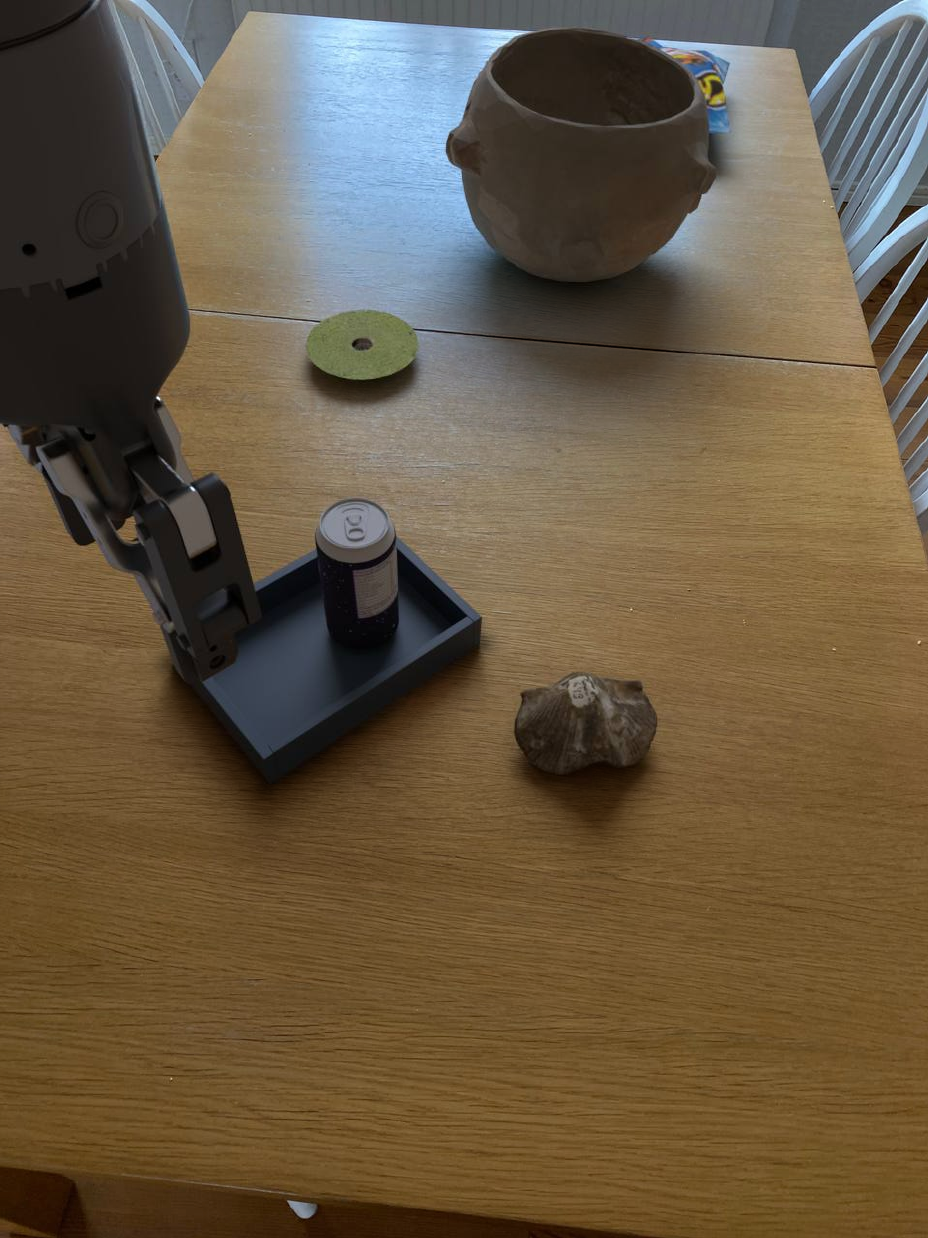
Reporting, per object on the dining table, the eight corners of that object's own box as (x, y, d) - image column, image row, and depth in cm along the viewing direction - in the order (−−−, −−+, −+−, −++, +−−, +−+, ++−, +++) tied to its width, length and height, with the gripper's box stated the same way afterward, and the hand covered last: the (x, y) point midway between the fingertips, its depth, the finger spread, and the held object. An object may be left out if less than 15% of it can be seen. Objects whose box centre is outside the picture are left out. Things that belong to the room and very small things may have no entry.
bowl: (691, 205, 118) (733, 25, 102) (683, 345, 101) (731, 155, 85) (473, 178, 120) (480, -2, 104) (428, 310, 103) (428, 119, 87)
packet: (592, 157, 124) (603, 88, 118) (603, 77, 139) (613, 11, 132) (726, 172, 123) (744, 103, 117) (723, 89, 138) (739, 24, 131)
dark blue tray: (270, 784, 68) (263, 759, 65) (173, 662, 74) (163, 634, 71) (480, 644, 76) (482, 617, 73) (376, 544, 82) (375, 515, 79)
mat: (439, 347, 99) (439, 331, 98) (380, 408, 93) (379, 392, 91) (348, 313, 102) (346, 297, 101) (285, 370, 96) (283, 353, 95)
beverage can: (394, 595, 78) (390, 489, 69) (403, 651, 75) (400, 547, 65) (324, 603, 77) (310, 497, 68) (330, 660, 74) (316, 557, 64)
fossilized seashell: (659, 678, 72) (526, 670, 74) (659, 671, 65) (513, 663, 67) (654, 780, 71) (520, 769, 73) (654, 783, 64) (506, 771, 66)
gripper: (-238, 127, 26) (-19, 534, 39) (-20, 397, 20) (157, 778, 32) (26, 57, 29) (148, 456, 42) (289, 270, 23) (338, 664, 36)
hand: (152, 596), depth 37 cm, fingers open, 8 cm apart
